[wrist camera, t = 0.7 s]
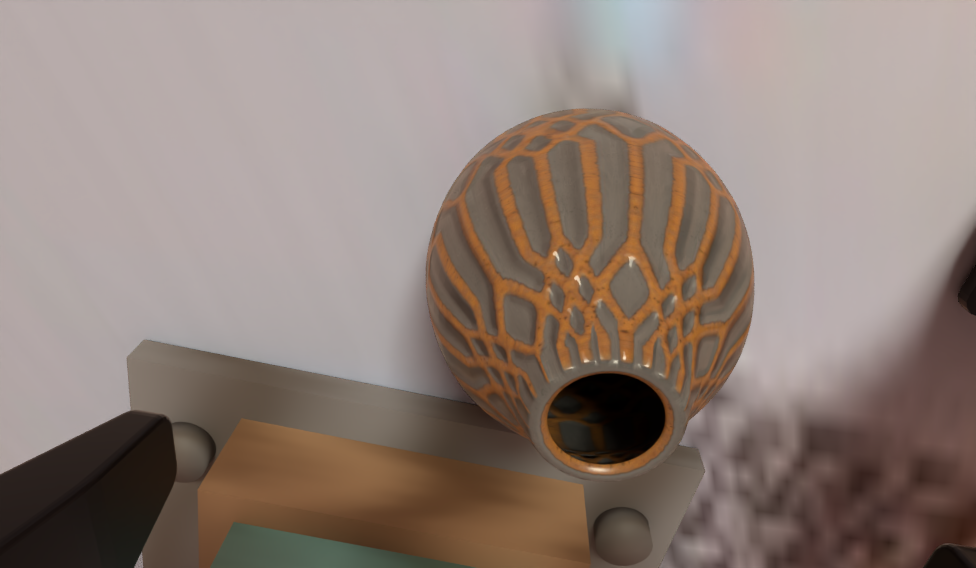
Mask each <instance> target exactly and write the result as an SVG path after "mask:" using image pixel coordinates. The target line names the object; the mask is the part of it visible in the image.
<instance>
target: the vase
mask: <svg viewBox="0 0 976 568" xmlns="http://www.w3.org/2000/svg"><path fill="white" fill-rule="evenodd" d="M426 293H427V301H428V307H429V313H430V318H431V322H432V326H433V329H434V333H435V336H436V339H437V342H438V344H439V347H440V349H441V352H442V354H443V356H444V358H445V360H446V363H447V364H448V366H449V368H450V370H451V371H452V373H453V375H454V376H455V378H456V379H457V381H458V382H459V384H460V385H461V387H462V388H463V389H464V390H465V392H466V393H467V394H468V395H469V396H470V397H471V398H472V400H473V401H474V402H475V403H476V404H477V405H478V406H479V407H481V408H482V409H483V410H484V411H485V412H486V413H487V414H488V415H490V416H491V417H492V418H493V419H495V420H496V421H498V422H499V423H501V424H502V425H504V426H505V427H507V428H508V429H510V430H512V431H514V432H515V433H517V434H519V435H521V436H523V437H525V438H527V439H529V440H530V442H531V443H532V445H533V446H534V448H535V449H536V450H537V452H538V453H539V454H540V455H541V456H542V457H543V458H544V459H545V460H546V461H547V462H548V463H549V464H551V465H552V466H553V467H555V468H556V469H558V470H560V471H561V472H563V473H566V474H568V475H570V476H573V477H576V478H579V479H583V480H589V481H597V482H613V481H621V480H626V479H630V478H634V477H637V476H640V475H642V474H644V473H647V472H649V471H651V470H652V469H654V468H656V467H657V466H659V465H660V464H661V463H663V462H664V461H665V460H666V459H667V458H668V457H669V456H670V455H671V454H672V453H673V452H674V451H675V449H676V448H677V446H678V445H679V443H680V441H681V440H682V437H683V435H684V433H685V430H686V427H687V424H688V421H689V420H690V419H691V418H692V417H694V416H695V415H696V414H697V413H698V412H699V411H700V410H701V409H702V408H703V407H704V406H705V405H706V404H707V403H708V402H709V401H710V400H711V399H712V398H713V397H714V396H715V395H716V394H717V392H718V391H719V390H720V389H721V387H722V386H723V385H724V383H725V382H726V380H727V379H728V377H729V375H730V374H731V372H732V370H733V369H734V367H735V365H736V363H737V361H738V359H739V357H740V355H741V353H742V350H743V347H744V345H745V342H746V338H747V335H748V332H749V328H750V324H751V318H752V312H753V303H754V267H753V258H752V251H751V246H750V241H749V237H748V234H747V231H746V227H745V224H744V222H743V219H742V216H741V214H740V211H739V209H738V207H737V205H736V203H735V201H734V199H733V197H732V196H731V194H730V193H729V191H728V189H727V188H726V186H725V185H724V183H723V182H722V180H721V179H720V178H719V176H718V175H717V174H716V172H715V171H714V170H713V169H712V168H711V167H710V166H709V164H708V163H707V162H706V161H705V160H704V159H703V158H702V157H701V156H700V155H699V154H698V153H697V152H696V151H695V150H693V149H692V148H691V147H690V146H689V145H688V144H686V143H685V142H684V141H682V140H681V139H679V138H678V137H677V136H675V135H674V134H672V133H671V132H669V131H668V130H666V129H664V128H663V127H661V126H659V125H657V124H655V123H653V122H650V121H648V120H645V119H643V118H640V117H637V116H634V115H631V114H627V113H622V112H618V111H611V110H604V109H571V110H563V111H557V112H552V113H549V114H545V115H541V116H538V117H536V118H533V119H530V120H528V121H525V122H523V123H521V124H519V125H517V126H515V127H513V128H511V129H509V130H507V131H506V132H504V133H503V134H501V135H499V136H498V137H496V138H495V139H494V140H492V141H491V142H490V143H488V144H487V145H486V146H485V147H484V148H483V149H481V150H480V151H479V152H478V153H477V154H476V155H475V156H474V157H473V158H472V159H471V160H470V162H469V163H468V164H467V165H466V166H465V168H464V169H463V170H462V172H461V173H460V175H459V176H458V177H457V179H456V180H455V182H454V183H453V185H452V187H451V188H450V190H449V192H448V194H447V195H446V197H445V200H444V202H443V204H442V206H441V208H440V211H439V213H438V215H437V218H436V221H435V224H434V227H433V231H432V234H431V238H430V242H429V247H428V253H427V261H426Z"/></svg>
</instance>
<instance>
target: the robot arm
mask: <svg viewBox="0 0 976 568" xmlns="http://www.w3.org/2000/svg"><path fill="white" fill-rule="evenodd" d="M958 302H959V303H960V304H961V306H962V307H964V308H965V309H966V310H967V311H968V312H970V313H971V314H973V315H976V265H975V267H974V268H973V270H972V271H971V273H970V275H969V276H968V278H967V279H966V281H965V283H964V284H963V286H962V287H961V289H960V291H959V294H958ZM176 475H177V460H176V452H175V444H174V436H173V428H172V423H171V420H170V419H169V417H168V416H166V415H164V414H160V413H154V412H148V411H142V410H131V411H128V412H126V413H123V414H121V415H119V416H117V417H115V418H113V419H111V420H109V421H107V422H105V423H103V424H101V425H99V426H97V427H95V428H93V429H91V430H89V431H87V432H85V433H83V434H81V435H79V436H77V437H75V438H73V439H71V440H69V441H67V442H65V443H63V444H61V445H59V446H57V447H55V448H53V449H51V450H49V451H47V452H45V453H43V454H41V455H39V456H37V457H34V458H32V459H30V460H28V461H26V462H24V463H22V464H20V465H18V466H16V467H14V468H12V469H10V470H8V471H6V472H4V473H2V474H0V568H134V567H135V564H136V562H137V560H138V558H139V556H140V554H141V552H142V550H143V548H144V546H145V544H146V542H147V540H148V538H149V535H150V533H151V531H152V529H153V527H154V525H155V523H156V521H157V519H158V517H159V515H160V513H161V511H162V509H163V507H164V504H165V502H166V500H167V498H168V496H169V494H170V492H171V490H172V488H173V485H174V482H175V479H176ZM923 568H976V547H970V546H963V545H957V544H951V543H946V544H942V545H940V546H939V547H937V548H936V549H935V550H934V552H933V553H932V555H931V556H930V558H929V559H928V561H927V562H926V564H925V565H924V567H923Z"/></svg>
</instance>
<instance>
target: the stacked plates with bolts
mask: <svg viewBox="0 0 976 568" xmlns="http://www.w3.org/2000/svg"><path fill="white" fill-rule="evenodd" d="M127 368H128V381H129V393H130V406H131V410H142V411H148V412H154V413H160V414H164V415H166V416H168V417H169V419H170V420H171V423H172V428H173V436H174V444H175V452H176V460H177V475H176V479H175V482H174V485H173V488H172V490H171V492H170V494H169V496H168V498H167V500H166V502H165V504H164V507H163V509H162V511H161V513H160V515H159V517H158V519H157V521H156V523H155V525H154V527H153V529H152V531H151V533H150V535H149V538H148V540H147V542H146V544H145V546H144V548H143V550H142V555H143V568H659V566H660V564H661V562H662V560H663V558H664V556H665V554H666V552H667V549H668V547H669V545H670V543H671V541H672V539H673V537H674V535H675V533H676V531H677V529H678V527H679V525H680V523H681V521H682V518H683V516H684V514H685V512H686V510H687V508H688V506H689V504H690V502H691V500H692V498H693V496H694V494H695V492H696V490H697V487H698V485H699V483H700V481H701V479H702V477H703V475H704V473H705V469H704V466H703V463H702V460H701V457H700V454H699V451H698V449H695V448H690V447H685V446H680V445H678V446H677V448H676V449H675V451H674V452H673V453H672V454H671V455H670V456H669V457H668V458H667V459H666V460H665V461H664V462H663V463H661V464H660V465H659V466H657V467H656V468H654V469H652V470H651V471H649V472H647V473H644V474H642V475H640V476H637V477H634V478H630V479H626V480H621V481H613V482H597V481H589V480H583V479H579V478H576V477H573V476H570V475H568V474H566V473H563V472H561V471H560V470H558V469H556V468H555V467H553V466H552V465H551V464H549V463H548V462H547V461H546V460H545V459H544V458H543V457H542V456H541V455H540V454H539V453H538V452H537V450H536V449H535V448H534V446H533V445H532V443H531V442H530V440H529V439H527V438H525V437H523V436H521V435H519V434H517V433H515V432H514V431H512V430H510V429H508V428H507V427H505V426H504V425H502V424H501V423H499V422H498V421H496V420H495V419H493V418H492V417H491V416H490V415H488V414H487V413H486V412H485V411H484V410H483V409H482V408H481V407H479V406H478V405H473V404H468V403H463V402H457V401H452V400H447V399H442V398H437V397H432V396H427V395H422V394H417V393H412V392H407V391H402V390H397V389H392V388H387V387H382V386H377V385H372V384H366V383H361V382H356V381H351V380H346V379H341V378H336V377H331V376H326V375H321V374H316V373H311V372H306V371H301V370H296V369H291V368H286V367H280V366H275V365H270V364H265V363H260V362H255V361H250V360H245V359H240V358H235V357H230V356H225V355H220V354H215V353H210V352H205V351H200V350H195V349H189V348H184V347H179V346H174V345H169V344H164V343H159V342H154V341H149V340H143V341H142V342H141V343H140V344H139V346H138V347H137V348H136V349H135V350H134V351H133V352H132V353H131V354H130V355H129V356H128V357H127Z"/></svg>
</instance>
